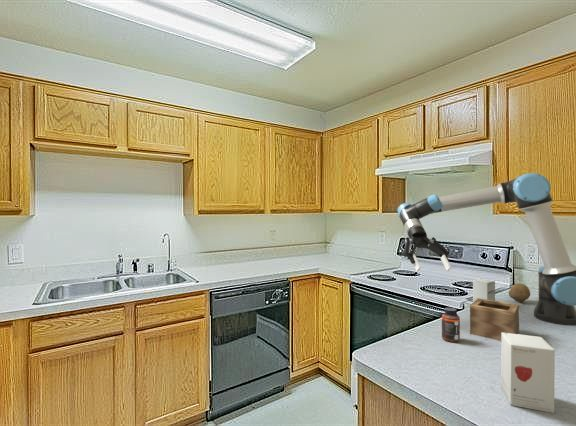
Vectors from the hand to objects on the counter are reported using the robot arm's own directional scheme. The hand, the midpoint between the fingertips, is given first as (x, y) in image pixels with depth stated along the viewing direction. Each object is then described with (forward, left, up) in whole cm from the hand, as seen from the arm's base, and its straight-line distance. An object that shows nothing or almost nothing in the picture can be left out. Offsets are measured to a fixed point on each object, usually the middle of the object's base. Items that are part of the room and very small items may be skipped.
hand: (434, 269), depth 133 cm
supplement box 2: (-34, +40, -24) cm, 58 cm away
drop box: (-20, -7, -23) cm, 32 cm away
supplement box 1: (-9, -48, -24) cm, 54 cm away
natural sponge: (-22, -66, -24) cm, 73 cm away
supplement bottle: (-9, +11, -24) cm, 28 cm away
